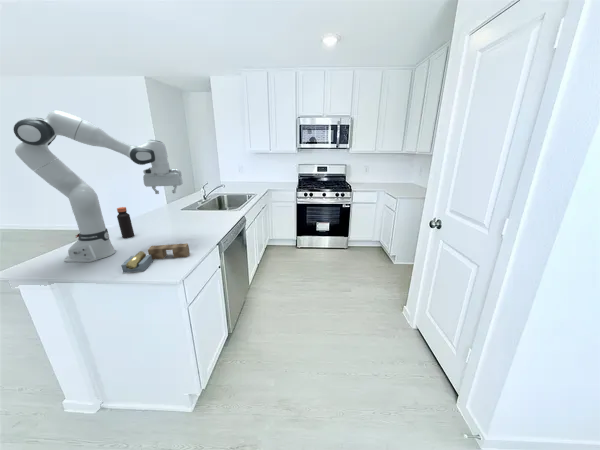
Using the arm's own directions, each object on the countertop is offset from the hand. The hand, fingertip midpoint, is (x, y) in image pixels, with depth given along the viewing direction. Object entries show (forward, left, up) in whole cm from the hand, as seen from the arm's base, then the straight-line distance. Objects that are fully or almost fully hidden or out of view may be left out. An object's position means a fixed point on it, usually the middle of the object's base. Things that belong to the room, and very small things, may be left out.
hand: (165, 193), depth 145 cm
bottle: (-34, +16, -31) cm, 49 cm away
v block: (-8, -32, -31) cm, 45 cm away
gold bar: (-8, -32, -29) cm, 44 cm away
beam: (+4, -22, -31) cm, 38 cm away
